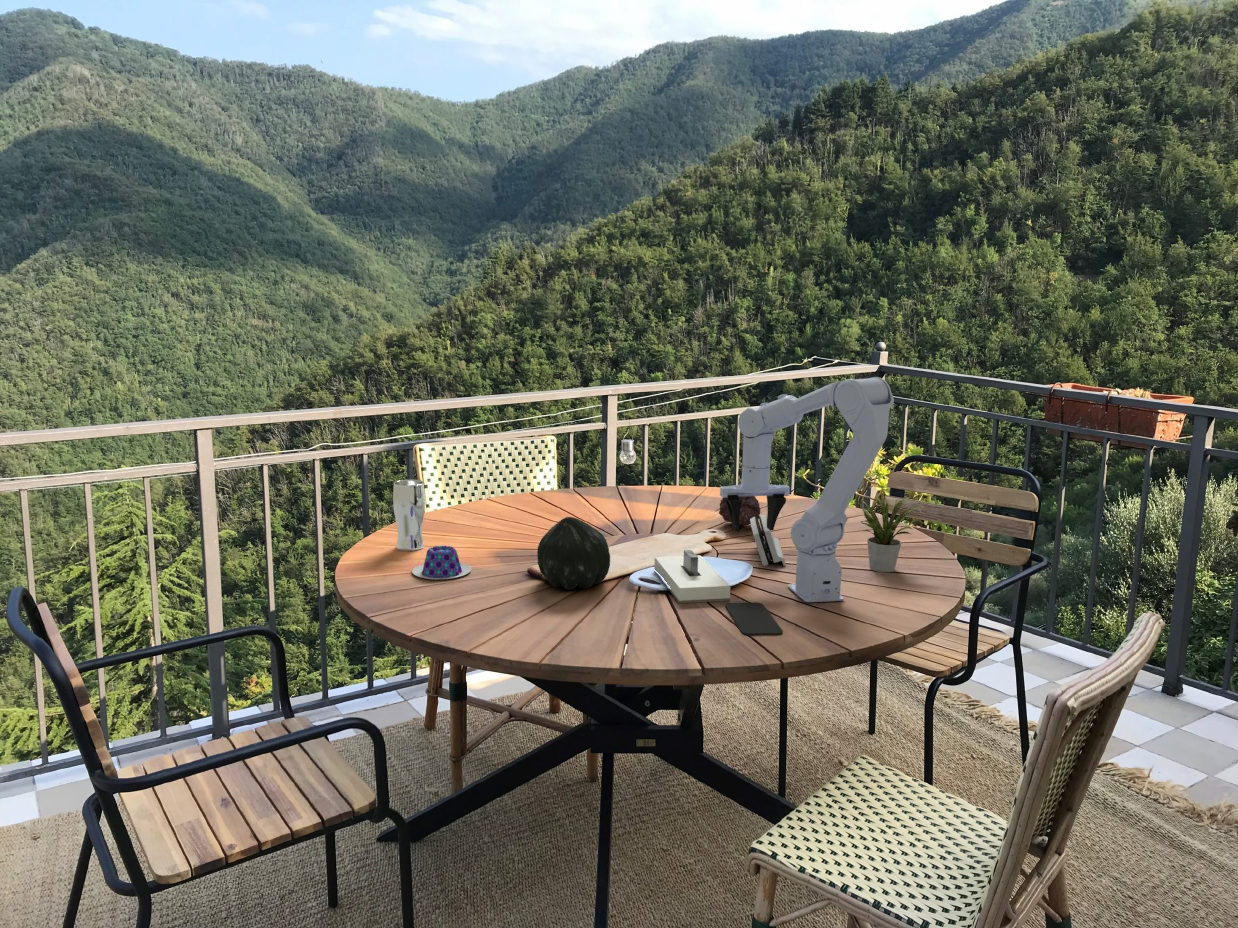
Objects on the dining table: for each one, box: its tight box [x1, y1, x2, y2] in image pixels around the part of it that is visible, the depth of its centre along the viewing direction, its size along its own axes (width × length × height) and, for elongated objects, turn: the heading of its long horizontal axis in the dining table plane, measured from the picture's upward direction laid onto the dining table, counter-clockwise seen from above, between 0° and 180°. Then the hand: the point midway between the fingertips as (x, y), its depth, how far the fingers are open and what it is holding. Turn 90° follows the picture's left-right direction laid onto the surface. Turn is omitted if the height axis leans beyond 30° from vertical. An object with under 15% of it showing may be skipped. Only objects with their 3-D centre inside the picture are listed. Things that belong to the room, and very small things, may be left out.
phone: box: [724, 601, 784, 637], centre depth 156 cm, size 7×1×15 cm
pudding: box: [411, 545, 472, 580], centre depth 179 cm, size 12×12×5 cm
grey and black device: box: [750, 513, 787, 567], centre depth 196 cm, size 17×5×10 cm, turn 174°
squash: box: [536, 516, 611, 591], centre depth 172 cm, size 14×15×15 cm
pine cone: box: [718, 496, 761, 527], centre depth 219 cm, size 18×10×10 cm, turn 12°
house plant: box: [860, 496, 924, 573], centre depth 187 cm, size 14×14×16 cm
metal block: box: [683, 549, 698, 576], centre depth 174 cm, size 5×2×6 cm, turn 12°
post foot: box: [653, 554, 731, 604], centre depth 174 cm, size 20×10×3 cm, turn 11°
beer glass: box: [392, 479, 426, 552], centre depth 194 cm, size 7×7×15 cm
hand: (752, 529), depth 181 cm, fingers open, 7 cm apart
